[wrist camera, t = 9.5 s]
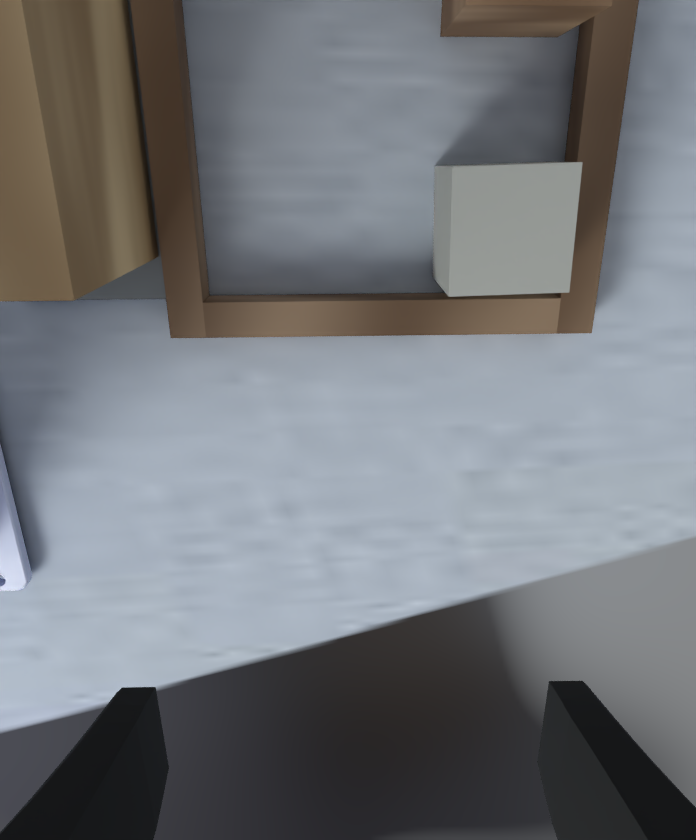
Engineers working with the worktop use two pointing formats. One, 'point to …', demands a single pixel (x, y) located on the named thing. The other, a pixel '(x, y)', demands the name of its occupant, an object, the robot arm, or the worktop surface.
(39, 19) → the oak board
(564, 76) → the worktop surface
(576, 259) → the frame
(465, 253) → the offcut grey
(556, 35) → the offcut dark
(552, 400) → the worktop surface
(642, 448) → the worktop surface
